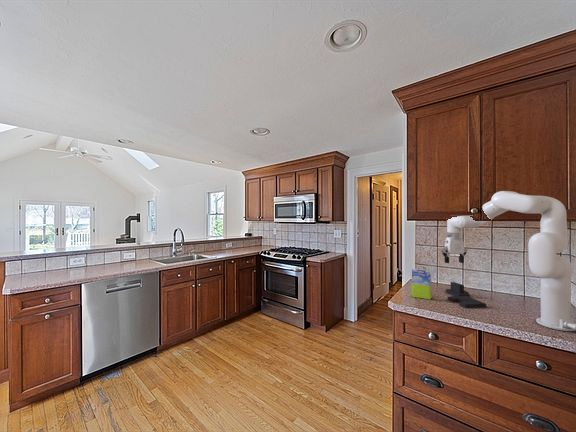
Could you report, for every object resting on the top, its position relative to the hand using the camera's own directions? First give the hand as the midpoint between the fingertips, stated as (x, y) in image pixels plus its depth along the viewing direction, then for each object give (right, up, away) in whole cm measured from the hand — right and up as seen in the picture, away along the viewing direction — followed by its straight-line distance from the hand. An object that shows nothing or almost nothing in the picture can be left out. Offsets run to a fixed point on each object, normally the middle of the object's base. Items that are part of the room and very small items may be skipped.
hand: (454, 262), depth 161 cm
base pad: (-2, -21, -14) cm, 25 cm away
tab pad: (+5, -21, +2) cm, 21 cm away
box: (-22, -21, -3) cm, 31 cm away
